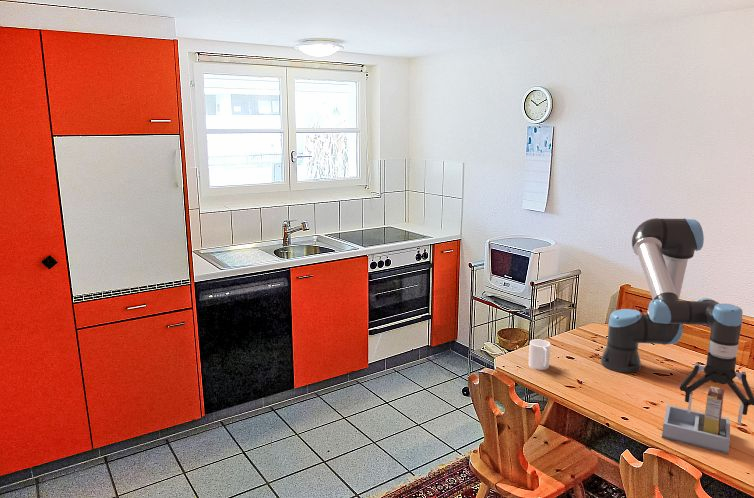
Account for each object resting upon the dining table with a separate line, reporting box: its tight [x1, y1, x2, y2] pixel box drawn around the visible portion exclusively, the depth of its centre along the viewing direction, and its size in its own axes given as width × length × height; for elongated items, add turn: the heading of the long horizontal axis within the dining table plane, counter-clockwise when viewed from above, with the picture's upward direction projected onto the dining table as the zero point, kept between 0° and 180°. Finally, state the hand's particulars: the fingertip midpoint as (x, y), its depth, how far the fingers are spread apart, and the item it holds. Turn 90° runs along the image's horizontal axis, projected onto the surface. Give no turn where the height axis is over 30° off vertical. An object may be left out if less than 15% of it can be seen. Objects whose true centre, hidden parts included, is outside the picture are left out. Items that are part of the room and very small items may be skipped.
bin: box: [661, 404, 731, 455], centre depth 177 cm, size 18×14×5 cm
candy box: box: [703, 385, 725, 435], centre depth 174 cm, size 9×4×15 cm, turn 143°
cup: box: [528, 338, 551, 371], centre depth 227 cm, size 8×12×10 cm
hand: (713, 417), depth 174 cm, fingers open, 13 cm apart
